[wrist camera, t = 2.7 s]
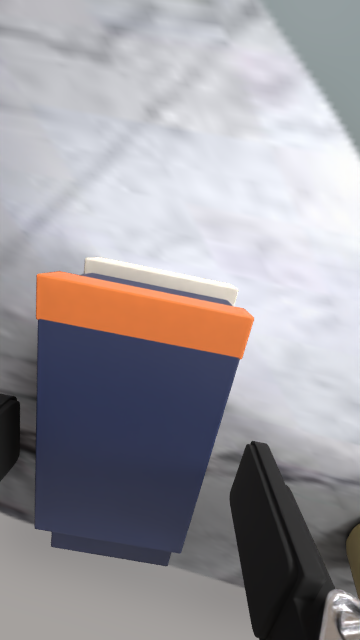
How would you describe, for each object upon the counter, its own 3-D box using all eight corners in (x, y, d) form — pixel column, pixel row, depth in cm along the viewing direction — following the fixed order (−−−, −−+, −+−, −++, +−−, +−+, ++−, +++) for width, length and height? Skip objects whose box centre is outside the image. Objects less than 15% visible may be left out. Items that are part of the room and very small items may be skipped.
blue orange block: (99, 256, 10) (25, 258, 5) (231, 284, 10) (268, 307, 6) (79, 475, 13) (25, 587, 9) (176, 493, 14) (171, 610, 9)
